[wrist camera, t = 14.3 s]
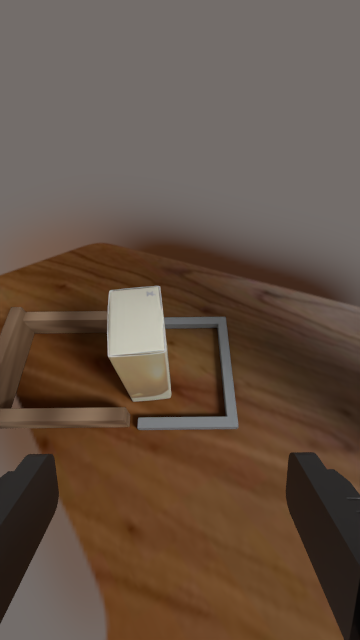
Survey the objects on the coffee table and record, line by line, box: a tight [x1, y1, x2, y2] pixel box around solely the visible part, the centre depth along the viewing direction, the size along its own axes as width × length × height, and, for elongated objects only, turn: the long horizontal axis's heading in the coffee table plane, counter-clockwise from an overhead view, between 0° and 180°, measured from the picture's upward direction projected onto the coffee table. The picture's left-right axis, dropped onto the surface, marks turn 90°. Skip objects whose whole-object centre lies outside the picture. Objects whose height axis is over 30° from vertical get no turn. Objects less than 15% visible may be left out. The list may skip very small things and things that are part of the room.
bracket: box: [138, 317, 238, 430], centre depth 31 cm, size 10×13×1 cm
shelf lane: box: [0, 307, 130, 428], centre depth 30 cm, size 14×12×4 cm
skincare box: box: [107, 286, 171, 402], centre depth 26 cm, size 6×4×12 cm
